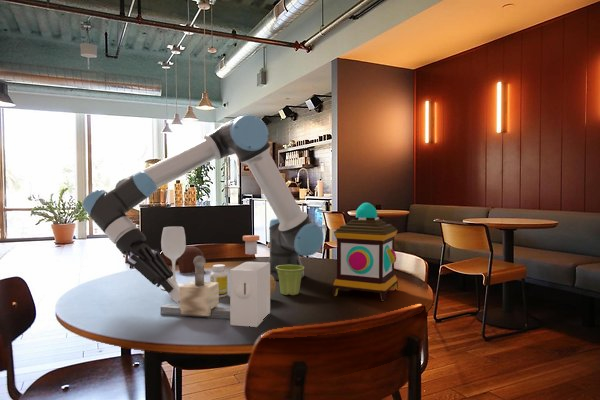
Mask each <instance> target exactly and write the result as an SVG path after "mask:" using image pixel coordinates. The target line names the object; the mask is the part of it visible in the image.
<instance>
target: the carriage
mask: <svg viewBox="0 0 600 400" xmlns="http://www.w3.org/2000/svg"><path fill="white" fill-rule="evenodd" d="M206 262H207V261H206V258H205V257H204V256H197V257H195V258H194V261H193V263H194V265H195V272H194V281H193V280H191V281H189V282H187V283H184V284H185V285H183V286H181V287H180V301H179V305H180V310H181V314H188V315H202V316H210V315H211V309H212V308H214V307H219V299H220V297H219V283H217V282H210V281H205V264H206Z"/></svg>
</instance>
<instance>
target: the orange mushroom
mask: <svg viewBox="0 0 600 400" xmlns="http://www.w3.org/2000/svg"><path fill="white" fill-rule="evenodd" d="M242 241H244V242H245V243H244V245H245V247H244V249H245V250H244V251H245V253H244V254H245V255H257V253H258V250H257V249H258V241H260V235H258V234H257V235H254V234H252V235H251V234H250V235H249V234H248V235H246V234H245V235H242Z"/></svg>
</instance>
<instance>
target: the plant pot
mask: <svg viewBox="0 0 600 400" xmlns="http://www.w3.org/2000/svg"><path fill="white" fill-rule="evenodd" d="M276 269H277V273H278V276H279V280H278V282H279V289H280V290H279V291H280V295H284V296H288V295H290V296H296V295H299V293H300V289H301V284H302V283H301V282H302V278H301V276H302V273H303V270H305V266H304V265H302V266H300V265H279V266H276Z"/></svg>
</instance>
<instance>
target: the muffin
mask: <svg viewBox="0 0 600 400" xmlns="http://www.w3.org/2000/svg"><path fill="white" fill-rule="evenodd" d="M204 255H205V254H204V253H203V251H202V250H201V249H200V248H199V247H196V246H193V245H189V246H186V248H185V251H184V253H183V254H182V255H181V256H180V257H179V258H177V264H178V270H179V272H180V273H183V274H186V273H187V274H189V273H190V274H192V273H195V265H194V263H193V261H194V258H195V257H197V256H203V257H204Z"/></svg>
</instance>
